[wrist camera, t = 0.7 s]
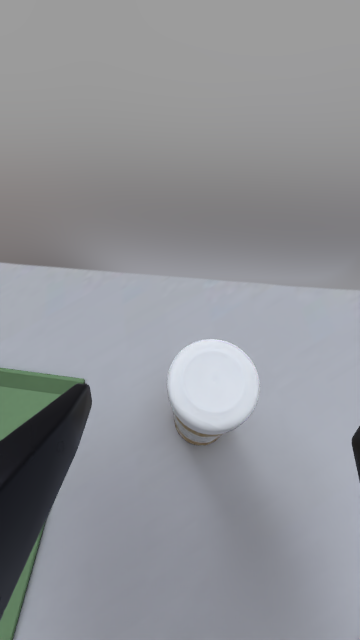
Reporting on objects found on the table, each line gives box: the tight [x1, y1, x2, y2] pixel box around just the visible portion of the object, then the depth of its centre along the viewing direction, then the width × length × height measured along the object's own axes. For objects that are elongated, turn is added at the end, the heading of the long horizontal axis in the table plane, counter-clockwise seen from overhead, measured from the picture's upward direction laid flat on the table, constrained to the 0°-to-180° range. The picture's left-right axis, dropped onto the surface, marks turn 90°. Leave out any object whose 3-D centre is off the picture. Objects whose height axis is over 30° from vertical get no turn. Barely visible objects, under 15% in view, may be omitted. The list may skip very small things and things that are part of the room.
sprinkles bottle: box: [167, 339, 260, 445], centre depth 20 cm, size 5×5×13 cm
